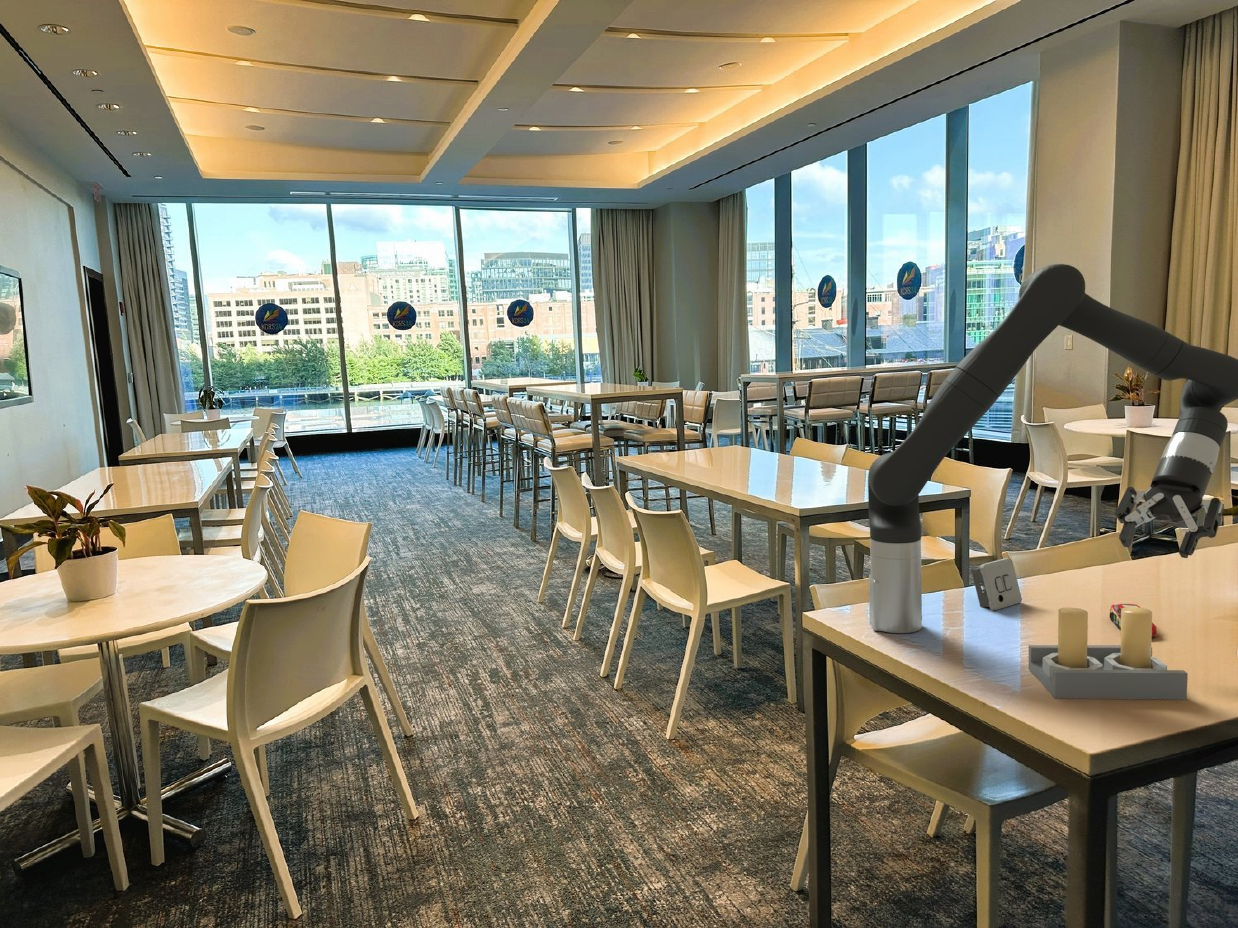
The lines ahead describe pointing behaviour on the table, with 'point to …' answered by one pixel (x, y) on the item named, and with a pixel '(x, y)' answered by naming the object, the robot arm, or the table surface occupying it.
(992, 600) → the electrical switch
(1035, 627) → the table surface
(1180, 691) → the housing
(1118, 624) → the race car
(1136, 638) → the domed yellow post
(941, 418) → the robot arm
